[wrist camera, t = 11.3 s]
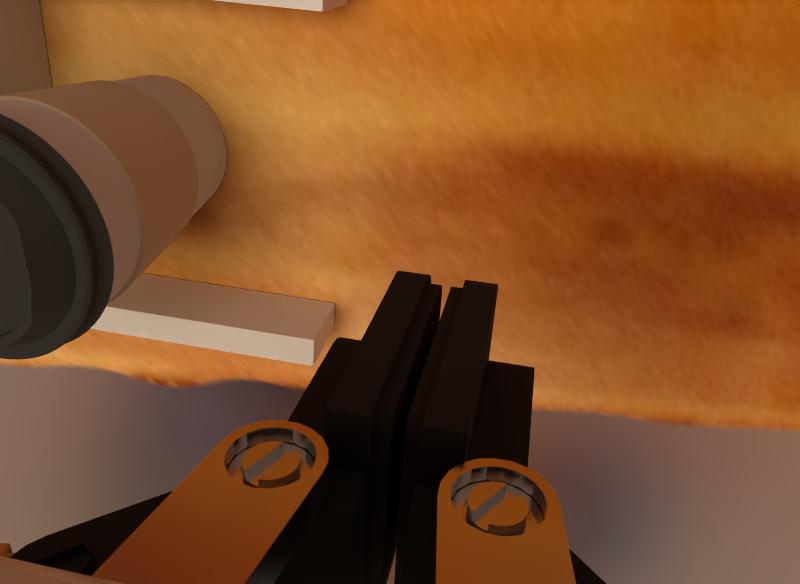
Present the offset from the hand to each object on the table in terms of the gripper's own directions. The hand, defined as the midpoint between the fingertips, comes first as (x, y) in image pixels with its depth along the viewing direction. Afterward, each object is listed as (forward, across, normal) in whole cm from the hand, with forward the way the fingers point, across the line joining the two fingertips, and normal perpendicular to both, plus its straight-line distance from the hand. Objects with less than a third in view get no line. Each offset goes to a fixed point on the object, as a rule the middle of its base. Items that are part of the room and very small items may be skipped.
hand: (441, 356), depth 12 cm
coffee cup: (+22, +17, +4) cm, 28 cm away
